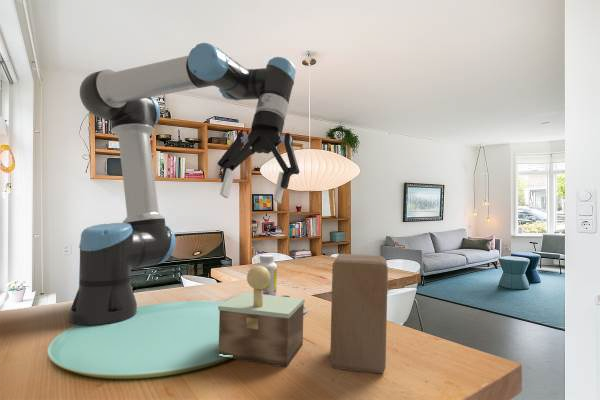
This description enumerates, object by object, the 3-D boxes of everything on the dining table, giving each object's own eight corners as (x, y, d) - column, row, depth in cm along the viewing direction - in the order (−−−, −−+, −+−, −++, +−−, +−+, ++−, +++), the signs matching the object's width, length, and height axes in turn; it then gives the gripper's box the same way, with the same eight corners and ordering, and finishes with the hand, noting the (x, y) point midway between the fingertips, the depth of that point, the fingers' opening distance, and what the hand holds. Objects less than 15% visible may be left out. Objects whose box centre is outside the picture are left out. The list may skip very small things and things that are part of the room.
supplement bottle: (270, 291, 121) (271, 253, 121) (280, 296, 116) (281, 256, 116) (252, 293, 118) (253, 254, 118) (261, 298, 112) (262, 257, 112)
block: (385, 376, 64) (388, 263, 64) (329, 369, 66) (332, 260, 66) (383, 353, 73) (386, 255, 73) (335, 348, 75) (337, 252, 75)
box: (217, 356, 70) (219, 310, 70) (242, 336, 80) (243, 296, 80) (286, 367, 66) (287, 318, 66) (302, 344, 77) (303, 302, 77)
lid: (218, 310, 70) (219, 265, 70) (242, 295, 81) (243, 257, 81) (288, 318, 66) (289, 270, 66) (304, 302, 77) (305, 261, 77)
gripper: (218, 108, 89) (194, 188, 83) (314, 108, 80) (295, 198, 74) (232, 124, 95) (211, 199, 89) (322, 126, 87) (305, 209, 81)
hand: (249, 198), depth 82 cm, fingers open, 13 cm apart
